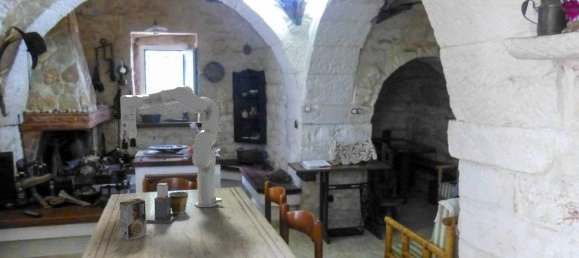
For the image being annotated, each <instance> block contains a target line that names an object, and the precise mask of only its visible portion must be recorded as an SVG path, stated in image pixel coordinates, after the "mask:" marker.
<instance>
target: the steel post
mask: <svg viewBox="0 0 579 258" xmlns="http://www.w3.org/2000/svg"><path fill="white" fill-rule="evenodd" d="M168 196H169V184H168V182H159V183H157V184H156V197H157V198H167V197H168Z"/></svg>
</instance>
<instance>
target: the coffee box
mask: <svg viewBox="0 0 579 258" xmlns="http://www.w3.org/2000/svg"><path fill="white" fill-rule="evenodd" d="M146 213H147V212H146V200H144V199H141V198H133V199H129V200H128V199H127V200H124V201H120V202H119V218H120V224H119V225H120V238H121V239H122V240H125V241H127V242H130V241H133V240H137V239H139V238H143V237H146V236H147V223H146V220H147V216H146V215H147V214H146Z"/></svg>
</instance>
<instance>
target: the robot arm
mask: <svg viewBox="0 0 579 258" xmlns="http://www.w3.org/2000/svg"><path fill="white" fill-rule="evenodd" d="M119 99H120V120H121V125H120V128H121V129H120V135H119V137H120V140H121V150H128V149H129V146H130V148H136V147H137V135H138V130H137V129H138V128H137V122H136V109H137V110H143V109H149V108H154V107H158V106H167V105H174V104H180V105H182V106H184V107H185V108H187V109H189V110H190V111H191V112H193V113H194V114H203V118H202V122H201V130H200V131H199V132H197V134H196V135H195V138H194V141H193V148H192V149H193V151H192V163H193V165H194V167H196V168H197V174H196V175H197V200H196V201H195V203H194V206H195V207H199V208H211V207H213V208H214V207H216V206H218V205H219V203H223V198H221V197H220V198H218V197H217V195H216V158H217V157H216V153H215V152H214V151H213V149H212V146H214V145H215V144H216V142H217V136H218V135H217V134H218V127H219V117H220V116H219V115H220V114H219V112H220V111H219V107H218V104H217V103H216V102H215V101H214V100H213V99H211V98H210V97H208V96H199V95H197V94H195V93H194V91H193V89H192V87H191V86H189V85H178V86H176V87H171V88H165V89H162V90H160V91H158V92H154V93H149V94H141V95H140V94H139V95H138V94H137V95H131V94H130V95H129V94H128V95H127V94H125V95H121V96H120V98H119ZM128 139H130V140H129V143H128ZM129 144H130V145H129Z"/></svg>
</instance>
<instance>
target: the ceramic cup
mask: <svg viewBox="0 0 579 258" xmlns="http://www.w3.org/2000/svg"><path fill="white" fill-rule="evenodd" d="M168 196H171V213H174V214H179V215H183V214H185V213H186V211H187V205H188V204H187V203H188V200H189V199H188V198H189V192H187V191H173V192H170V193H169V192H168Z"/></svg>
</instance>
